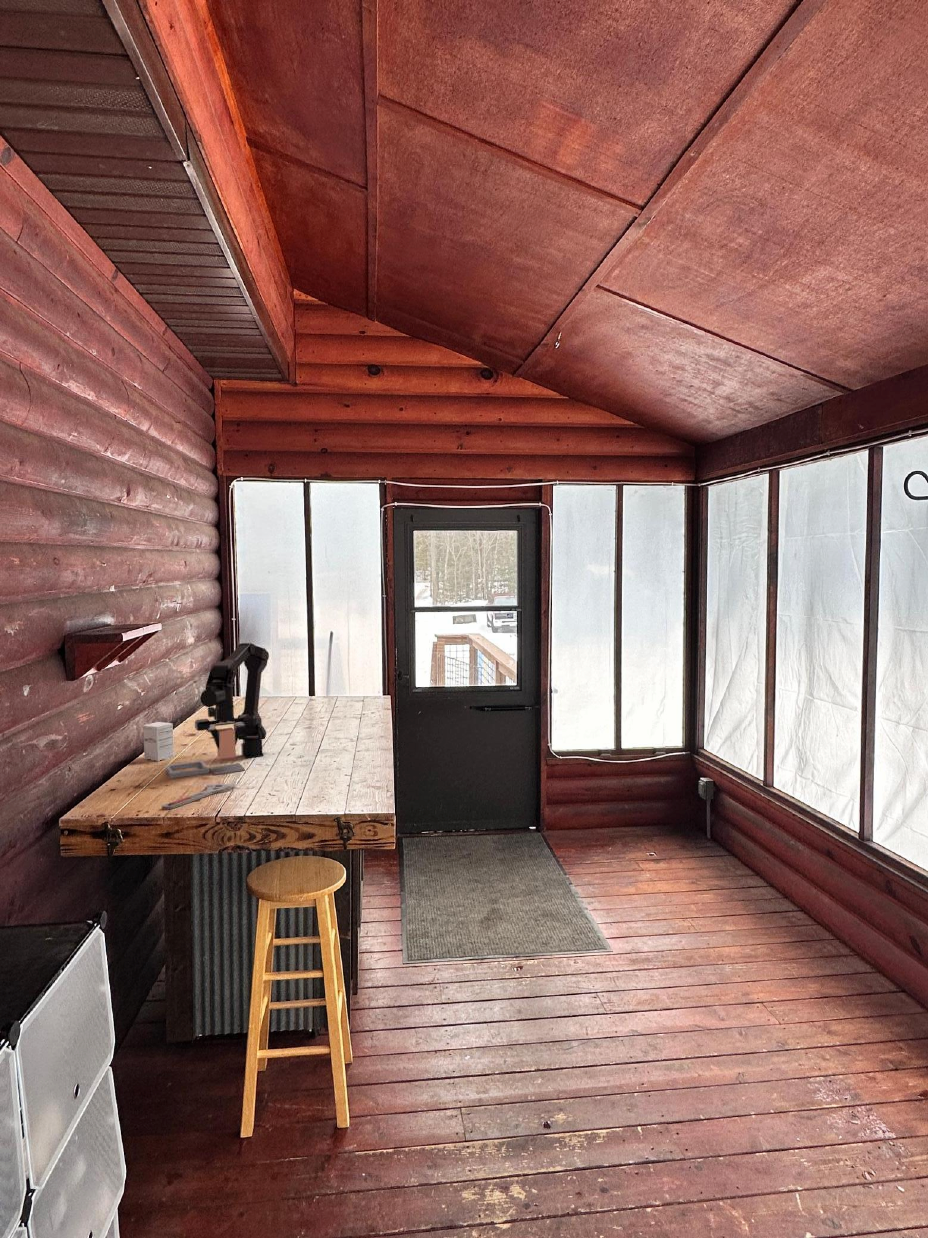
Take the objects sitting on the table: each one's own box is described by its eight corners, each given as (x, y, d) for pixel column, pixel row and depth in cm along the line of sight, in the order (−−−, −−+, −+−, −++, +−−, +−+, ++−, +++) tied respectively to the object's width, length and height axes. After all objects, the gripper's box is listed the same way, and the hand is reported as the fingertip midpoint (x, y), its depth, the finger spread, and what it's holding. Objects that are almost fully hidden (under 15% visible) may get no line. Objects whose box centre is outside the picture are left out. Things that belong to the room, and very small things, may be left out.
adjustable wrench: (149, 808, 210) (149, 801, 209) (225, 784, 231) (224, 777, 231) (167, 813, 205) (166, 806, 205) (242, 788, 226) (242, 782, 226)
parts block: (232, 753, 250) (231, 727, 250) (235, 756, 246) (234, 730, 245) (217, 755, 248) (216, 729, 247) (220, 758, 244) (219, 732, 243)
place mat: (239, 764, 254) (239, 763, 254) (245, 770, 245) (245, 769, 245) (209, 768, 249) (209, 767, 249) (214, 775, 240) (214, 774, 240)
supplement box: (143, 759, 263) (142, 725, 262) (160, 755, 270) (159, 721, 269) (157, 762, 260) (156, 726, 259) (174, 757, 266) (173, 722, 266)
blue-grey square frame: (202, 765, 254) (202, 761, 254) (208, 773, 244) (208, 768, 243) (166, 770, 248) (166, 766, 248) (171, 778, 238) (171, 773, 238)
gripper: (247, 695, 257) (249, 739, 258) (191, 701, 248) (193, 746, 249) (254, 700, 248) (256, 745, 249) (196, 706, 239) (198, 753, 240)
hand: (226, 747), depth 247 cm, fingers closed on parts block, 5 cm apart
